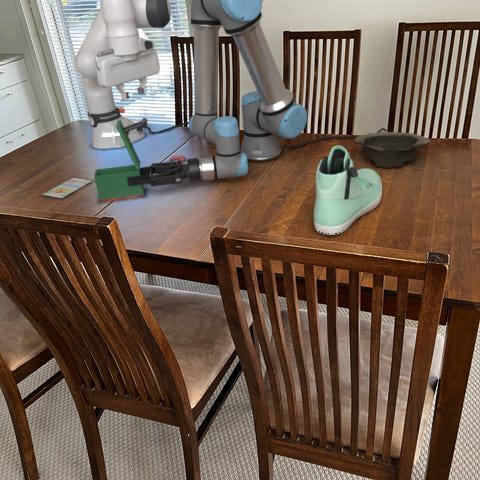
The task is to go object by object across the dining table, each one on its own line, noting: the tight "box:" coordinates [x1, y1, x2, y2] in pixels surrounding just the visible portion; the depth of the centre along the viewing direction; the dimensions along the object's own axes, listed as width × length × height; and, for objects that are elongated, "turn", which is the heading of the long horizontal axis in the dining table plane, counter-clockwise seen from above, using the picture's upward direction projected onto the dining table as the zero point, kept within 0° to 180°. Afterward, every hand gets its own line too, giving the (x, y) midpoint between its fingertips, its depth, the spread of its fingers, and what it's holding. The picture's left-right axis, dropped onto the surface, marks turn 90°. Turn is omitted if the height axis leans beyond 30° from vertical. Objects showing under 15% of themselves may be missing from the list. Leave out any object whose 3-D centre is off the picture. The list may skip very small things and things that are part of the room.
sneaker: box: [313, 145, 383, 236], centre depth 133 cm, size 14×35×20 cm, turn 152°
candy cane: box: [169, 154, 186, 163], centre depth 176 cm, size 6×15×2 cm, turn 145°
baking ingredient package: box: [42, 177, 92, 199], centre depth 165 cm, size 9×1×15 cm
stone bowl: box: [354, 131, 431, 169], centre depth 165 cm, size 25×25×9 cm
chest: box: [93, 164, 145, 204], centre depth 155 cm, size 14×6×9 cm, turn 99°
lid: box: [116, 117, 148, 170], centre depth 148 cm, size 15×6×9 cm
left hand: (133, 96), depth 141 cm, fingers open, 5 cm apart
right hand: (128, 177), depth 154 cm, fingers closed on chest, 6 cm apart
